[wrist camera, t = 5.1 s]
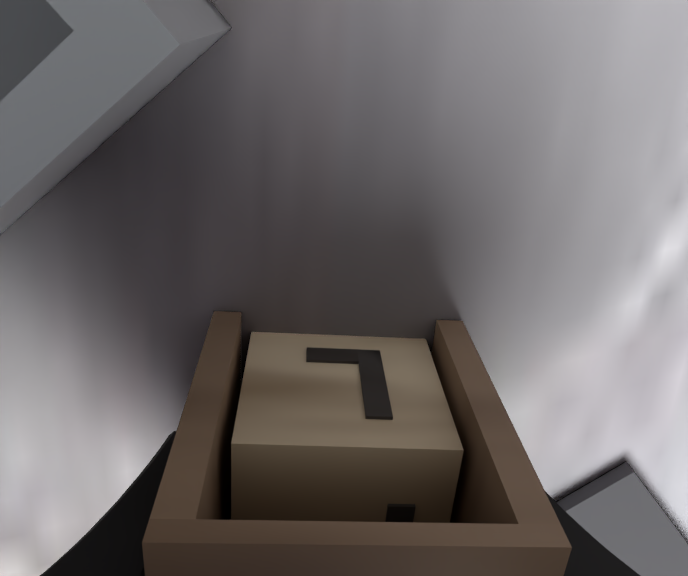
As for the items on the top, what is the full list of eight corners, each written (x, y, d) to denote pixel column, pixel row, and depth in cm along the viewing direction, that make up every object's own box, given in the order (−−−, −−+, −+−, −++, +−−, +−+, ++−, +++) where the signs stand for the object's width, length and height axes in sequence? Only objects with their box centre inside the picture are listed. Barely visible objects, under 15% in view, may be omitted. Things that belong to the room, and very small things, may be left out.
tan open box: (431, 508, 16) (498, 789, 11) (217, 504, 16) (163, 796, 10) (462, 320, 14) (571, 547, 8) (213, 311, 14) (142, 542, 8)
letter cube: (405, 472, 16) (433, 612, 12) (249, 468, 16) (230, 611, 12) (425, 334, 14) (465, 449, 11) (251, 327, 14) (231, 443, 10)
